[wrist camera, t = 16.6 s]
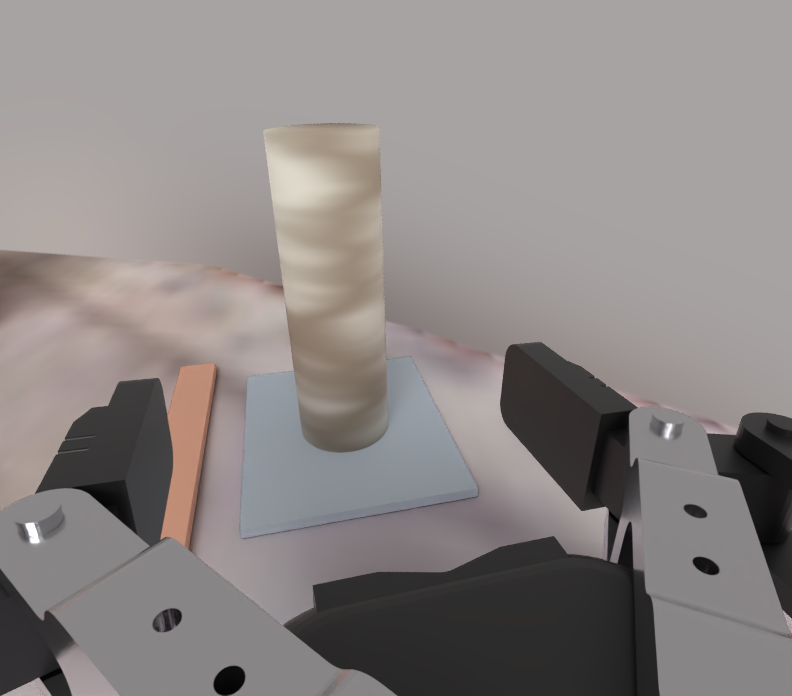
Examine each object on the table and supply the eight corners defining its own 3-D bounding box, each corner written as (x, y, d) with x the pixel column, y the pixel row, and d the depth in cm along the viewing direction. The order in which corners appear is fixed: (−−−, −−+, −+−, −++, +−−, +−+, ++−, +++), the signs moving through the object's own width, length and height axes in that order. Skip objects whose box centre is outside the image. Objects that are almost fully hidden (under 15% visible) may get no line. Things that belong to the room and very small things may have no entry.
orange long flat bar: (122, 603, 18) (118, 591, 18) (183, 375, 32) (181, 366, 32) (182, 591, 19) (178, 580, 19) (216, 371, 33) (215, 362, 32)
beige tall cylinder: (304, 458, 24) (263, 138, 18) (299, 406, 28) (263, 125, 22) (396, 444, 25) (389, 132, 19) (379, 395, 29) (368, 121, 22)
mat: (241, 538, 21) (239, 529, 21) (248, 383, 31) (247, 376, 31) (477, 496, 23) (478, 487, 23) (410, 363, 33) (410, 356, 33)
